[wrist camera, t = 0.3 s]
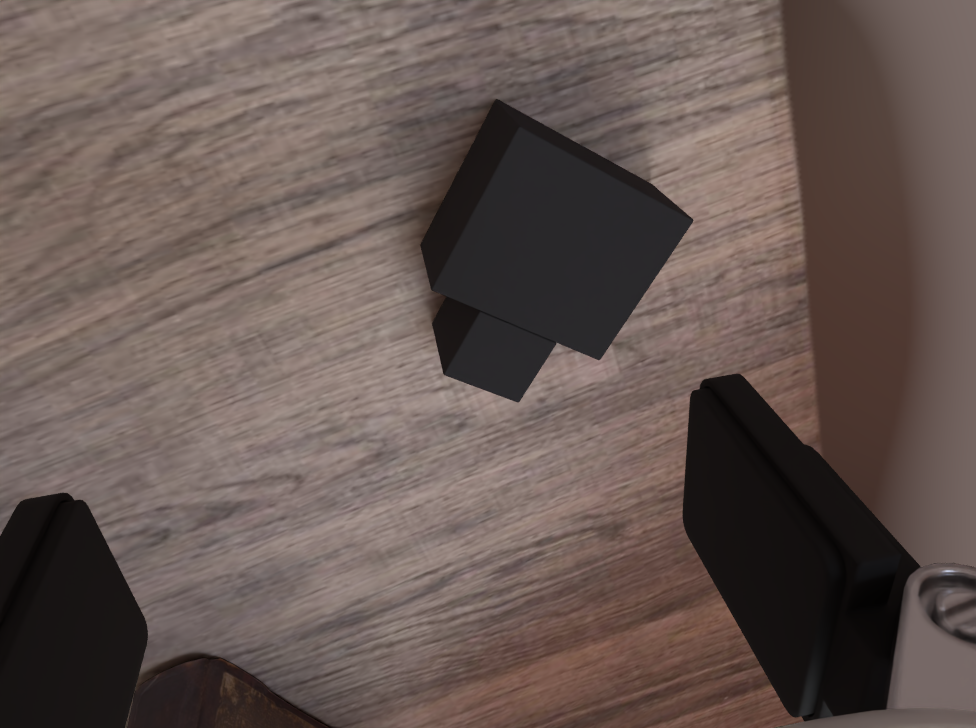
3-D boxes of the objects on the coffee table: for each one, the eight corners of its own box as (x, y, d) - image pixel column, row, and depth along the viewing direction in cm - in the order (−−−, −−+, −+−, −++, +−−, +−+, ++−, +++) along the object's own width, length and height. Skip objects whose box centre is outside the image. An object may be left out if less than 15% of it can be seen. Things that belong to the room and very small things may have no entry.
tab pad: (495, 98, 26) (519, 125, 22) (652, 184, 28) (694, 220, 25) (388, 306, 29) (394, 357, 26) (537, 365, 32) (560, 419, 28)
